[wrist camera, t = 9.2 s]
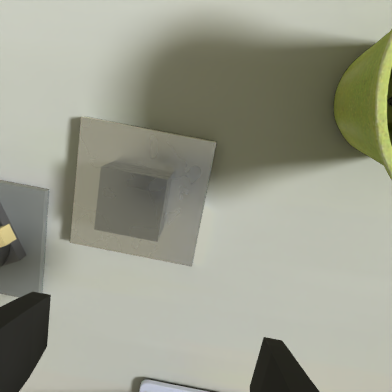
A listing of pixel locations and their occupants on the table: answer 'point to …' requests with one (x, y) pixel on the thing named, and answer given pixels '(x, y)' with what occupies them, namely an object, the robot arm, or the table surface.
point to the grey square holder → (140, 190)
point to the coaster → (25, 237)
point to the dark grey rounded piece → (9, 241)
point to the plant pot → (368, 103)
